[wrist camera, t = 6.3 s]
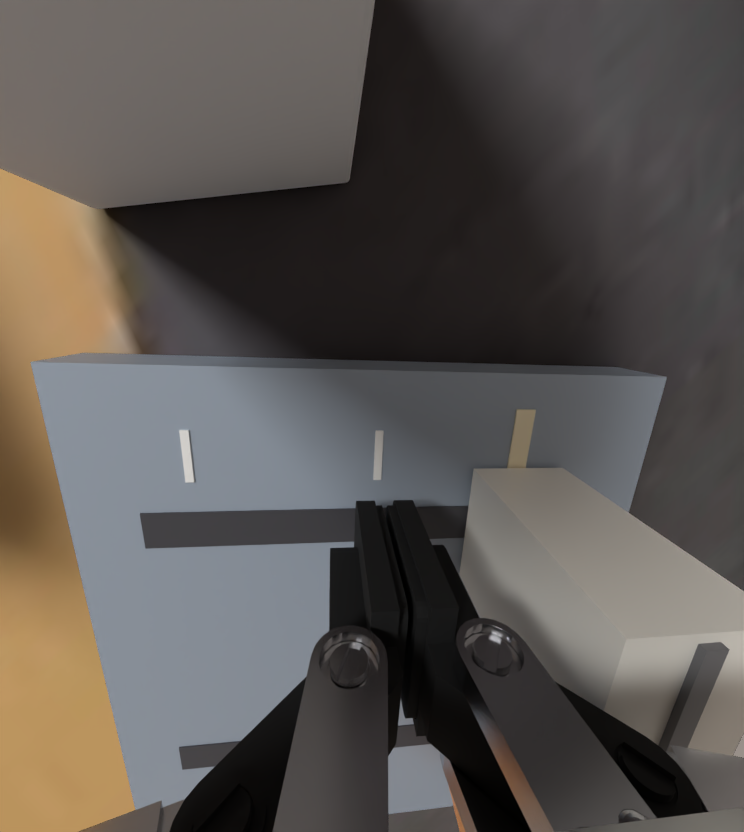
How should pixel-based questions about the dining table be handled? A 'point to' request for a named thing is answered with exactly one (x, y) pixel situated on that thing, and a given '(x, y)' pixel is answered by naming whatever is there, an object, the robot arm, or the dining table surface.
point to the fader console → (285, 516)
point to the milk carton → (180, 95)
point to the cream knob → (608, 606)
